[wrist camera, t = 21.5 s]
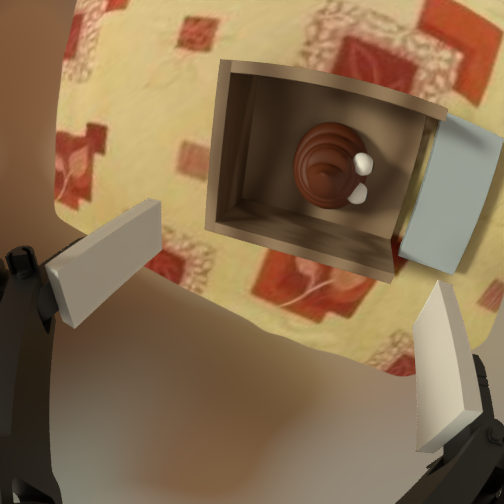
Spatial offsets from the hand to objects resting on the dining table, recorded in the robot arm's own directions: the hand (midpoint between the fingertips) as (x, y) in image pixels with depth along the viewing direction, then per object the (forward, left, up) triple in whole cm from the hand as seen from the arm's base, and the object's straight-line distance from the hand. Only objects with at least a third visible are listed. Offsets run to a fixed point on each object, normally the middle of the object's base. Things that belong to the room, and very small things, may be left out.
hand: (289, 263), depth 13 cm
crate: (0, -1, -25) cm, 25 cm away
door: (0, +10, -24) cm, 26 cm away
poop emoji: (+1, 0, -24) cm, 24 cm away
